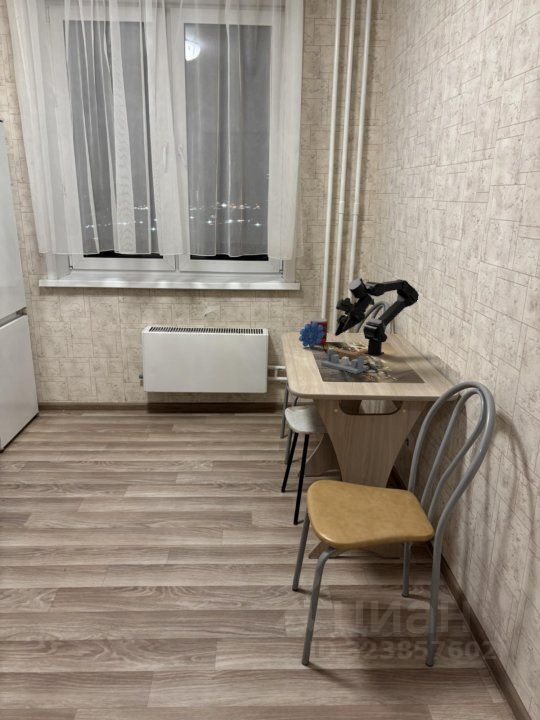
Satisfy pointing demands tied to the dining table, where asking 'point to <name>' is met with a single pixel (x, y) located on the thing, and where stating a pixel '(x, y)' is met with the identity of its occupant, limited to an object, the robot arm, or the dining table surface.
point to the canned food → (324, 323)
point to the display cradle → (345, 363)
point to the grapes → (311, 334)
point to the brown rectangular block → (345, 353)
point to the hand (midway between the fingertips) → (339, 333)
